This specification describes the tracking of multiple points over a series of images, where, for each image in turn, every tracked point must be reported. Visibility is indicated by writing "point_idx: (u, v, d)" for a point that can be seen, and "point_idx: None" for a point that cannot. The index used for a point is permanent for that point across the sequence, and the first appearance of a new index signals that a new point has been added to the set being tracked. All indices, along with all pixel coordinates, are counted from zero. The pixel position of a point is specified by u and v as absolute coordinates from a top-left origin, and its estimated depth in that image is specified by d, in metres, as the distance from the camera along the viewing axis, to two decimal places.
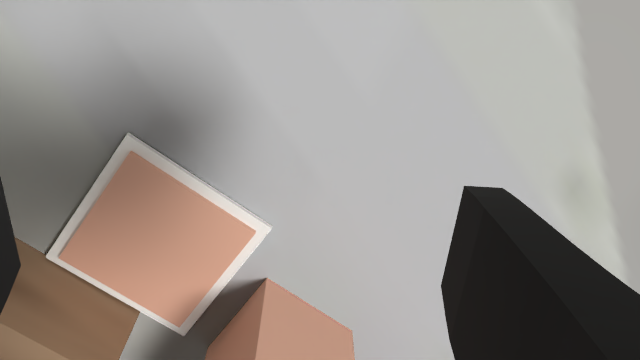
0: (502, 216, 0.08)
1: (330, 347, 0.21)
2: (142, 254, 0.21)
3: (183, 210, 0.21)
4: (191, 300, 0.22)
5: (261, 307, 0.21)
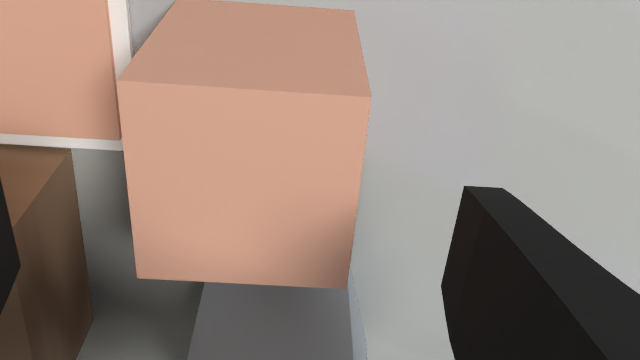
0: (502, 216, 0.08)
1: (305, 30, 0.12)
2: None
3: None
4: (101, 90, 0.14)
5: None
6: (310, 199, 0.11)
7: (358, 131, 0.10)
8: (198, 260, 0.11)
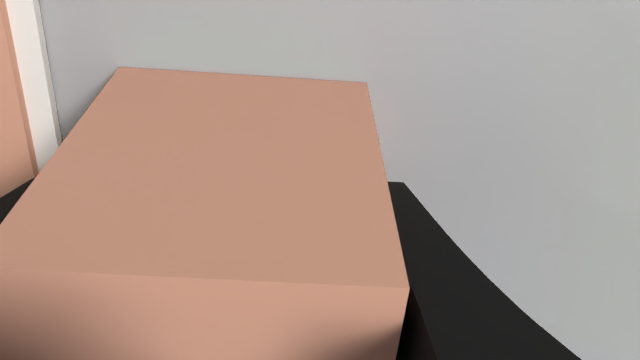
0: None
1: (298, 128, 0.08)
2: None
3: None
4: None
5: None
6: None
7: (385, 334, 0.06)
8: None
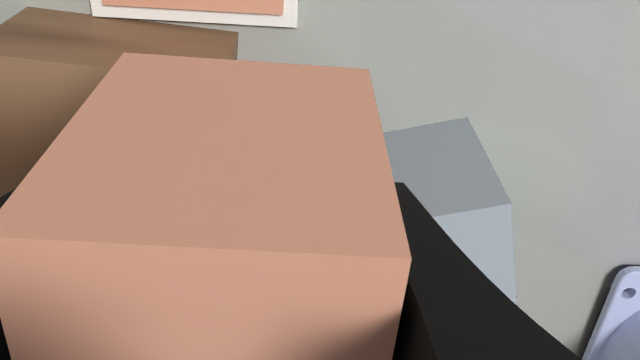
0: None
1: (302, 110, 0.08)
2: None
3: None
4: None
5: None
6: None
7: (388, 305, 0.06)
8: None
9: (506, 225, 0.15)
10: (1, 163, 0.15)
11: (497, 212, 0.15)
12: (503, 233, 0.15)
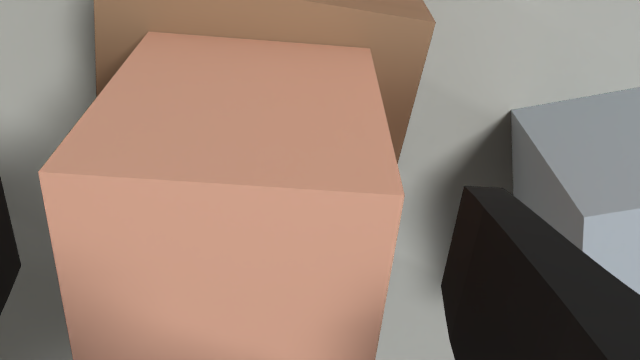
0: (502, 216, 0.08)
1: (309, 80, 0.09)
2: None
3: None
4: None
5: None
6: (316, 322, 0.08)
7: (384, 238, 0.07)
8: None
9: None
10: None
11: None
12: None
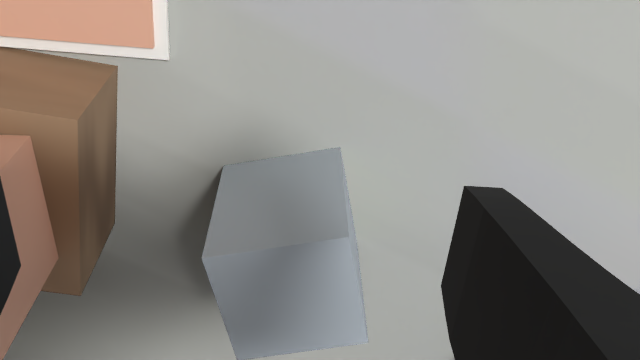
0: (502, 216, 0.08)
1: None
2: None
3: None
4: (140, 2, 0.17)
5: None
6: None
7: None
8: None
9: (346, 256, 0.16)
10: None
11: (336, 244, 0.16)
12: (345, 263, 0.16)
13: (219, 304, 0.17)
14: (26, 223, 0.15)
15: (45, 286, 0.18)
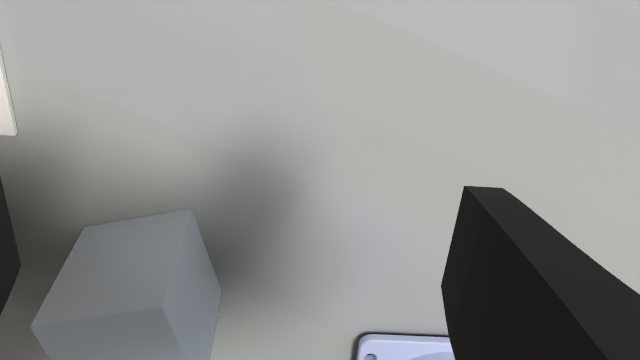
0: (502, 216, 0.08)
1: None
2: None
3: None
4: None
5: None
6: None
7: None
8: None
9: (163, 323, 0.17)
10: None
11: (152, 313, 0.17)
12: (164, 329, 0.18)
13: None
14: None
15: None
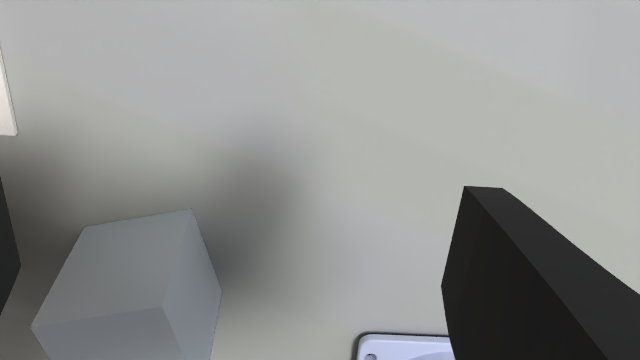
0: (502, 216, 0.08)
1: None
2: None
3: None
4: None
5: None
6: None
7: None
8: None
9: (163, 323, 0.17)
10: None
11: (152, 313, 0.17)
12: (165, 329, 0.18)
13: None
14: None
15: None
